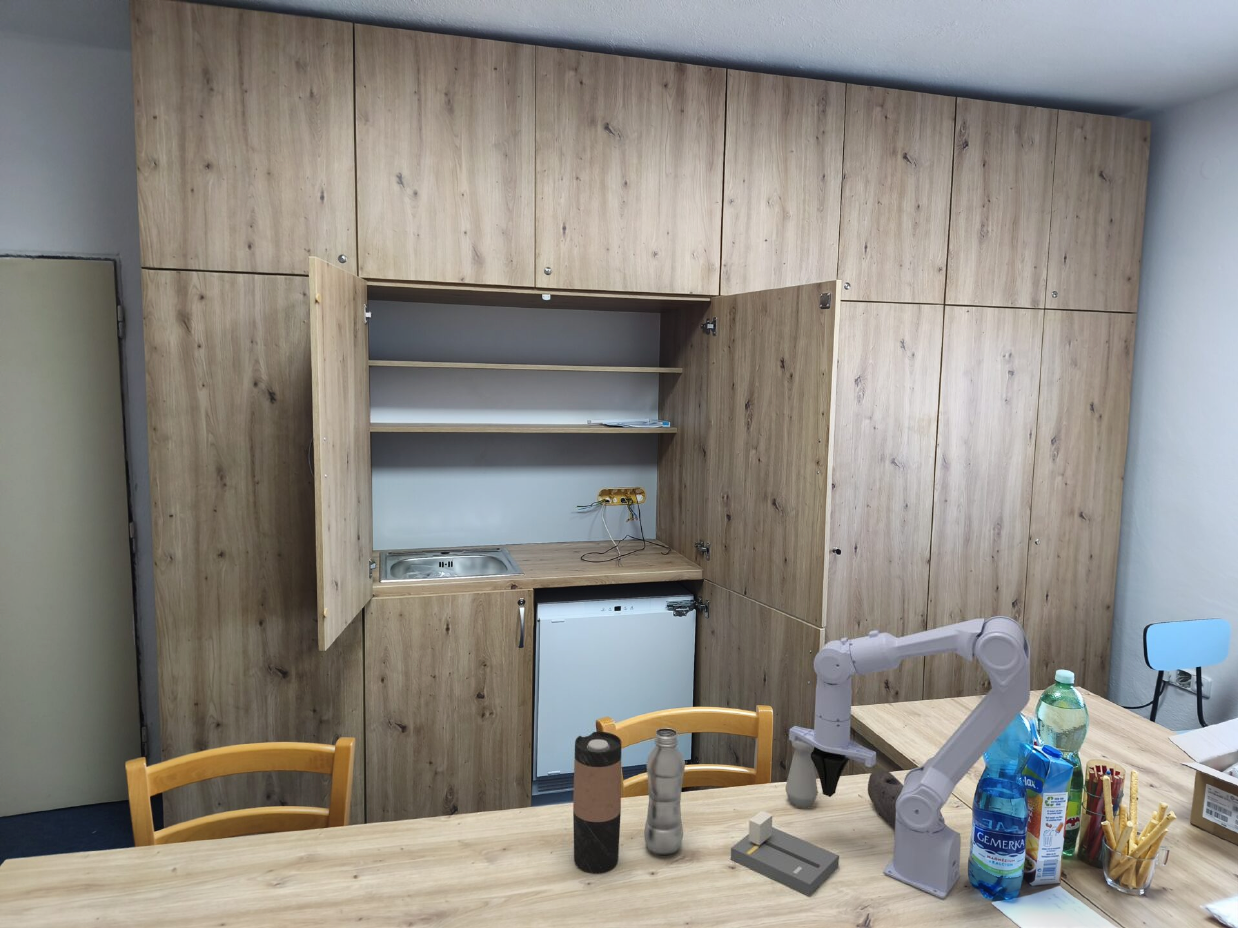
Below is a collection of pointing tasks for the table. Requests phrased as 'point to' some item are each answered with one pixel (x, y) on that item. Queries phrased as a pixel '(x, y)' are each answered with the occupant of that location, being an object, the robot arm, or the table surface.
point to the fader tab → (760, 827)
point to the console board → (787, 860)
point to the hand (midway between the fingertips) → (829, 793)
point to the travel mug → (597, 801)
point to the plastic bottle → (664, 794)
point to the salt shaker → (802, 777)
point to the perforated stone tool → (884, 794)
